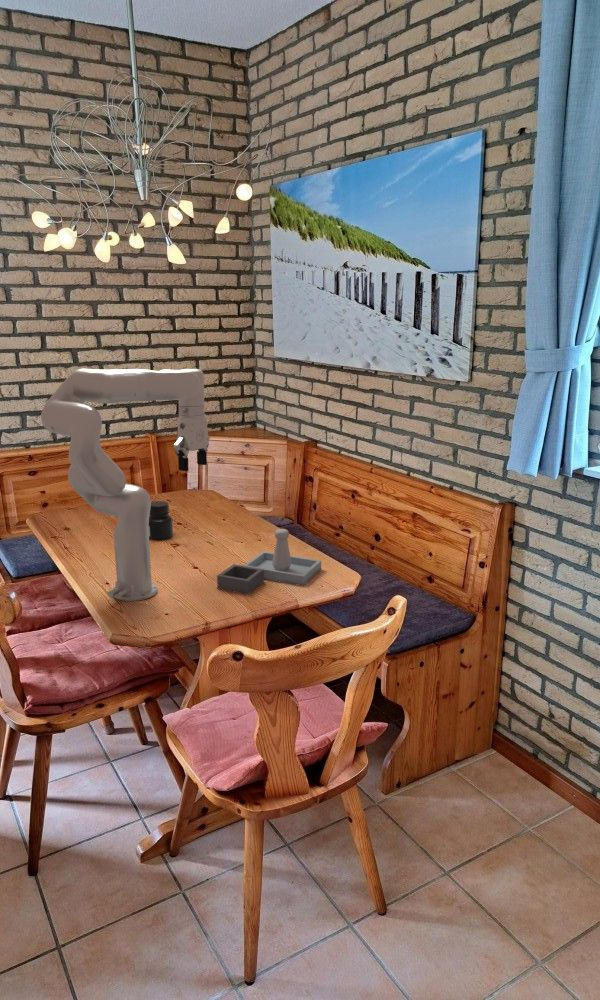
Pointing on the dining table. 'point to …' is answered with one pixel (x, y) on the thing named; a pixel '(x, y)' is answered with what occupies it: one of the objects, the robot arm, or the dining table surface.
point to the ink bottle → (160, 521)
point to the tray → (296, 574)
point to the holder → (240, 579)
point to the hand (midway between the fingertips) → (192, 467)
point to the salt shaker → (281, 551)
